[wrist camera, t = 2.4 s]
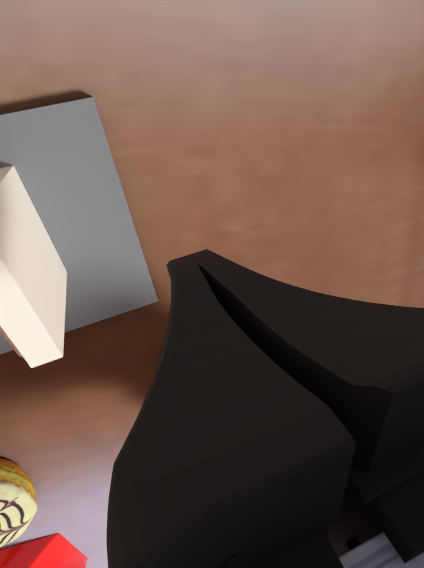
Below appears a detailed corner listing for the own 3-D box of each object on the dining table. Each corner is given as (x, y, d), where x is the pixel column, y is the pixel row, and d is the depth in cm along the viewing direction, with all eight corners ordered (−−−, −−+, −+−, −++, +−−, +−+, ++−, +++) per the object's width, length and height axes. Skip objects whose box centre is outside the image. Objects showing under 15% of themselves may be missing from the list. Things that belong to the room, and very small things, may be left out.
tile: (67, 272, 18) (62, 357, 13) (39, 280, 18) (23, 371, 12) (13, 165, 15) (-25, 217, 9) (-22, 173, 14) (-84, 231, 9)
